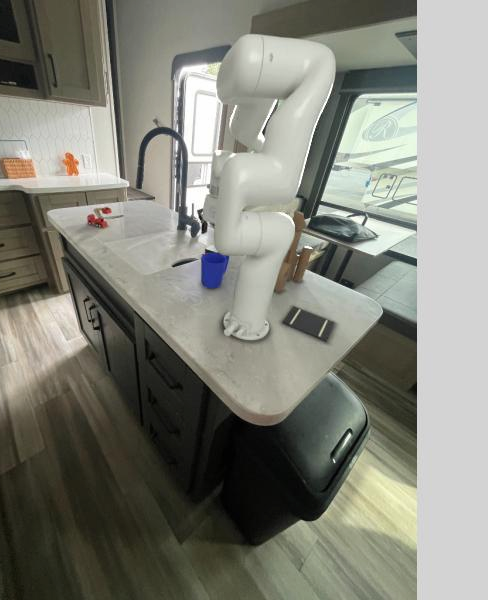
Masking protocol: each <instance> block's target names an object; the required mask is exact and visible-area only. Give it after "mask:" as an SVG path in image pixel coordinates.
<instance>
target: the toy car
mask: <svg viewBox="0 0 488 600" xmlns="http://www.w3.org/2000/svg"><path fill="white" fill-rule="evenodd" d="M207 253H217V254H220V253H219V252H218V251H217V250H216V248H215V245H210V246H208V247H205V249H204V252H203V253H201V257H202V256H203V255H204V254H207ZM221 255H222V254H221Z"/></svg>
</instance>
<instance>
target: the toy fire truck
mask: <svg viewBox="0 0 488 600" xmlns="http://www.w3.org/2000/svg"><path fill="white" fill-rule="evenodd" d="M101 212H102V214H104V215H109V214H112V209H111V208H110V207H108V206H104V207H96V208H94V209H93V213H91V214H88V215H86V220H87V224H89V225H90V226H91V225H93V226H96V227H99V228H105V227H106V226H107V227H108V222H107V221H106V220H105V217H104V216H102V214H101ZM96 216H97V218H96Z"/></svg>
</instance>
